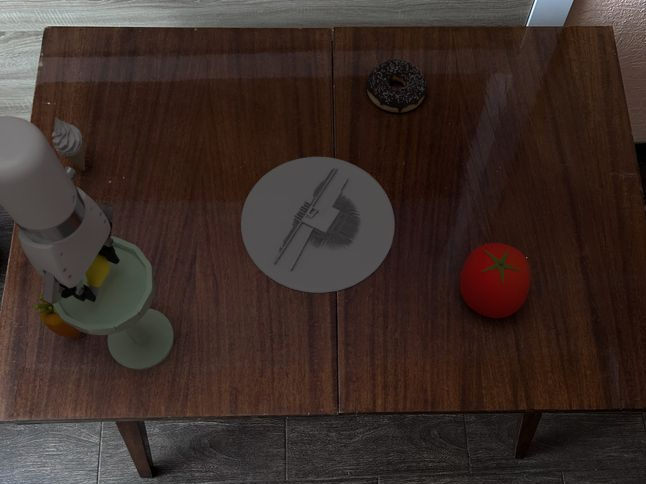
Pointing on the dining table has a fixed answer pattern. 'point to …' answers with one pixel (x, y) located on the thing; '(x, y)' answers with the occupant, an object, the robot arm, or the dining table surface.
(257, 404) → the dining table surface
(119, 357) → the stand
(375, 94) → the donut
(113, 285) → the platter
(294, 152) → the dining table surface
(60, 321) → the carrot
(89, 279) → the light bulb
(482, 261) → the tomato
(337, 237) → the plate
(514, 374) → the dining table surface
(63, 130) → the ice cream cone
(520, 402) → the dining table surface
